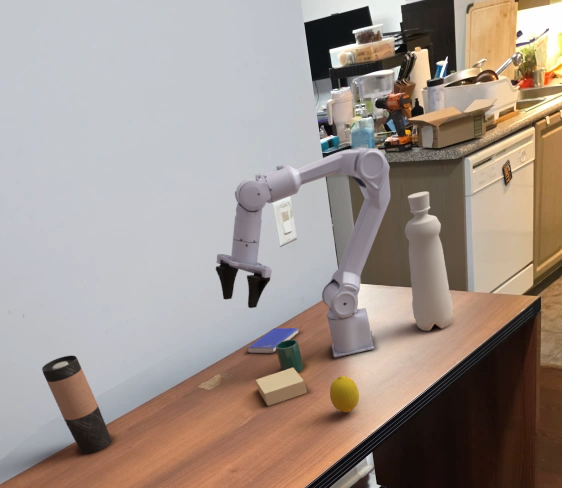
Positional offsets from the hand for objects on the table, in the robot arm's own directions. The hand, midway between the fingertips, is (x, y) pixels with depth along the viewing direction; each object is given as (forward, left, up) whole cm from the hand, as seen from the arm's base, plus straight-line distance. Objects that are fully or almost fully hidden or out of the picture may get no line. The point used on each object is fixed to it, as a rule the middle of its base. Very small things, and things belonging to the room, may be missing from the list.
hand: (239, 303), depth 146 cm
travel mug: (+37, +19, -18) cm, 45 cm away
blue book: (-3, -20, -18) cm, 27 cm away
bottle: (-43, -7, -18) cm, 47 cm away
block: (-6, +12, -18) cm, 23 cm away
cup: (-8, +1, -18) cm, 20 cm away
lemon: (-19, +29, -18) cm, 39 cm away
